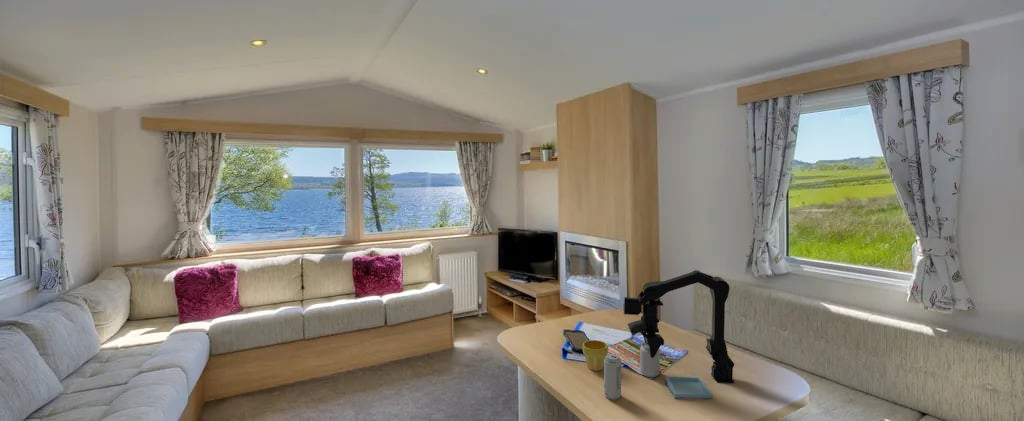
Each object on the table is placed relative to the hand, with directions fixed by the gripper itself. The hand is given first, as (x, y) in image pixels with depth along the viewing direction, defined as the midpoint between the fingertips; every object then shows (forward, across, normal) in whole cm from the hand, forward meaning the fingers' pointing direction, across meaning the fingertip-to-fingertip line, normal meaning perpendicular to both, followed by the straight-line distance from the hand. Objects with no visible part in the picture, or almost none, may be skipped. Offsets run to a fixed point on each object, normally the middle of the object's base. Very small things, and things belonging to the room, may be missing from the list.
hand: (649, 353), depth 170 cm
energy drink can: (+9, +18, -17) cm, 27 cm away
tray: (+8, +12, +11) cm, 18 cm away
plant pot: (+9, -5, -21) cm, 23 cm away
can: (+9, 0, 0) cm, 9 cm away
